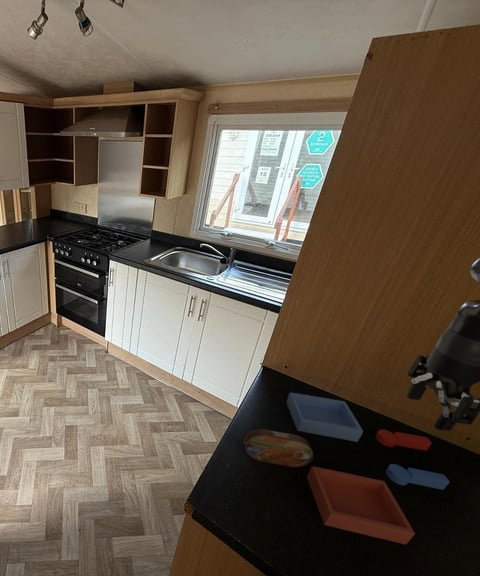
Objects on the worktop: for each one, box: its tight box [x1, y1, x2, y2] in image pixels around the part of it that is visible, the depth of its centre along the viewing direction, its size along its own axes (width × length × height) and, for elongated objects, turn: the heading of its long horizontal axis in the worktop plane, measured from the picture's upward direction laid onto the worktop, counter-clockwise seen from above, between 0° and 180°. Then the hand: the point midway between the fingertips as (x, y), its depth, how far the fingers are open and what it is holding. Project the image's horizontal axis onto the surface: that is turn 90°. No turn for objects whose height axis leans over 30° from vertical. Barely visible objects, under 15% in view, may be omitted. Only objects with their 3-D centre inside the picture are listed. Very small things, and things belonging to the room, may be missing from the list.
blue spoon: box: [385, 463, 450, 491], centre depth 73 cm, size 11×4×3 cm, turn 76°
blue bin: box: [286, 392, 364, 443], centre depth 89 cm, size 15×11×4 cm
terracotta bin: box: [306, 465, 416, 545], centre depth 68 cm, size 15×11×4 cm
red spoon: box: [375, 428, 432, 452], centre depth 82 cm, size 11×4×3 cm, turn 76°
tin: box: [243, 428, 314, 468], centre depth 77 cm, size 15×3×8 cm, turn 76°
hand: (425, 412), depth 68 cm, fingers open, 8 cm apart
